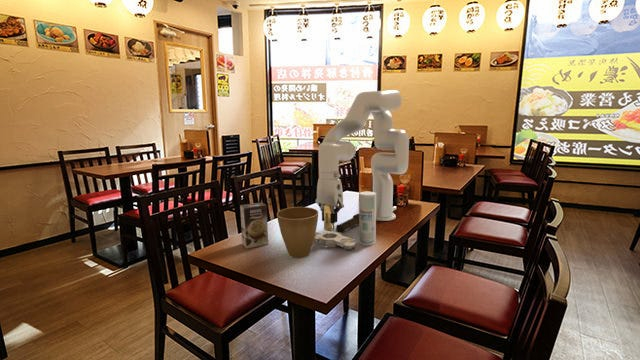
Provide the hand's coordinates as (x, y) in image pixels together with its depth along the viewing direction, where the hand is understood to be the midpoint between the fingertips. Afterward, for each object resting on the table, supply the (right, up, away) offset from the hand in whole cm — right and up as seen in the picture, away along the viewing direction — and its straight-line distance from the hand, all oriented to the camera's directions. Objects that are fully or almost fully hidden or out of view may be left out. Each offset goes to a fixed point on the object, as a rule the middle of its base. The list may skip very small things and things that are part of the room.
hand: (329, 221), depth 138 cm
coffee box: (-29, -10, +2) cm, 31 cm away
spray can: (+15, -9, +1) cm, 17 cm away
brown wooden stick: (+10, -5, +21) cm, 24 cm away
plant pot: (-11, -11, -9) cm, 18 cm away
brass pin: (0, -3, 0) cm, 3 cm away
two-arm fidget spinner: (0, -9, +2) cm, 9 cm away
